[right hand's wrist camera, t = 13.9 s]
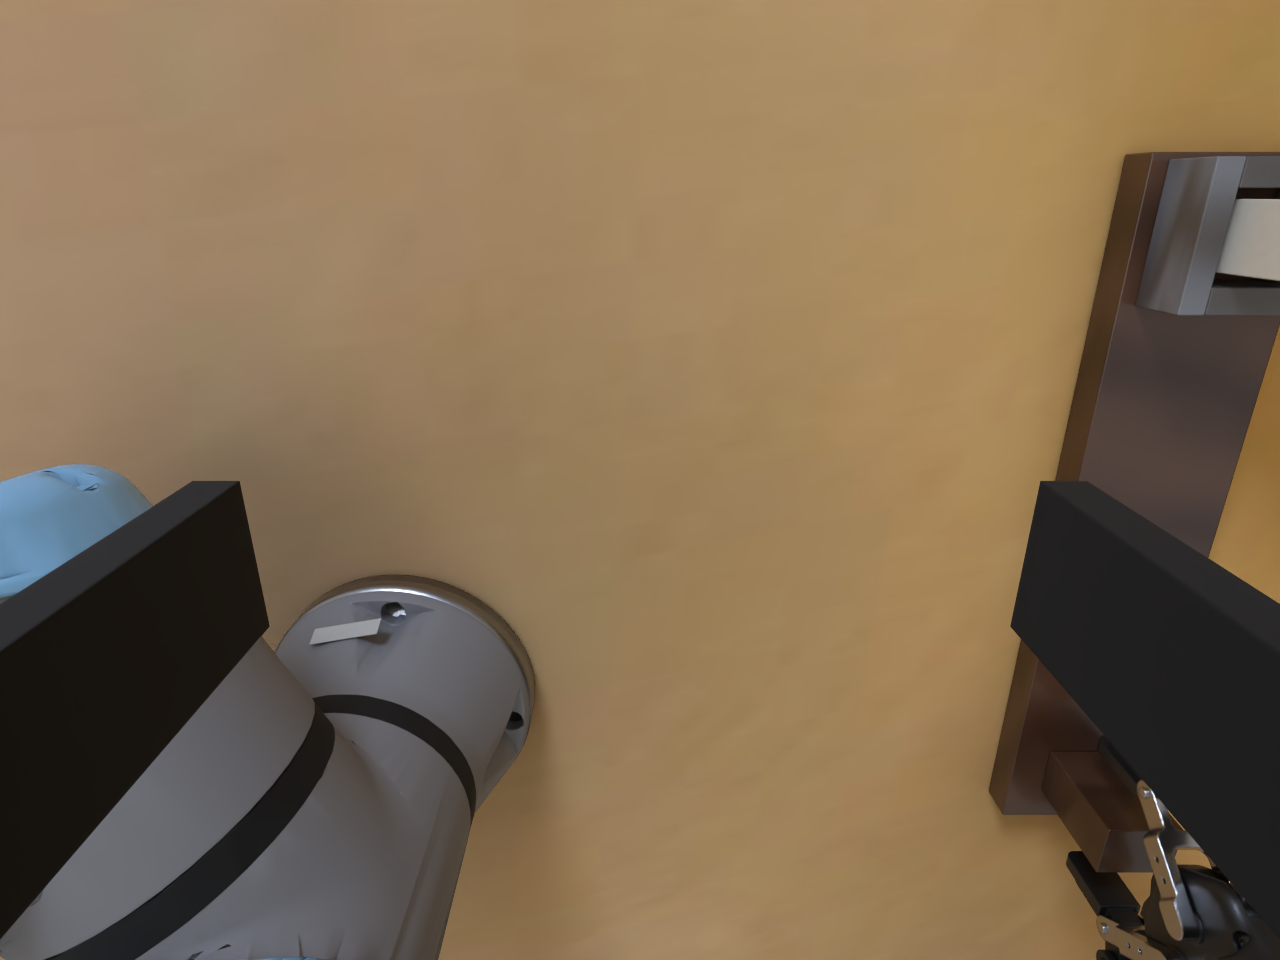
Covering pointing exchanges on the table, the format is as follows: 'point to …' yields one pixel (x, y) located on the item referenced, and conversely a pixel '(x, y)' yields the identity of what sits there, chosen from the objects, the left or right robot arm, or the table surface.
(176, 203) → the table surface
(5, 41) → the table surface
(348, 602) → the right robot arm
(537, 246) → the table surface
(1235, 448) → the peg board
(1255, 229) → the peg
